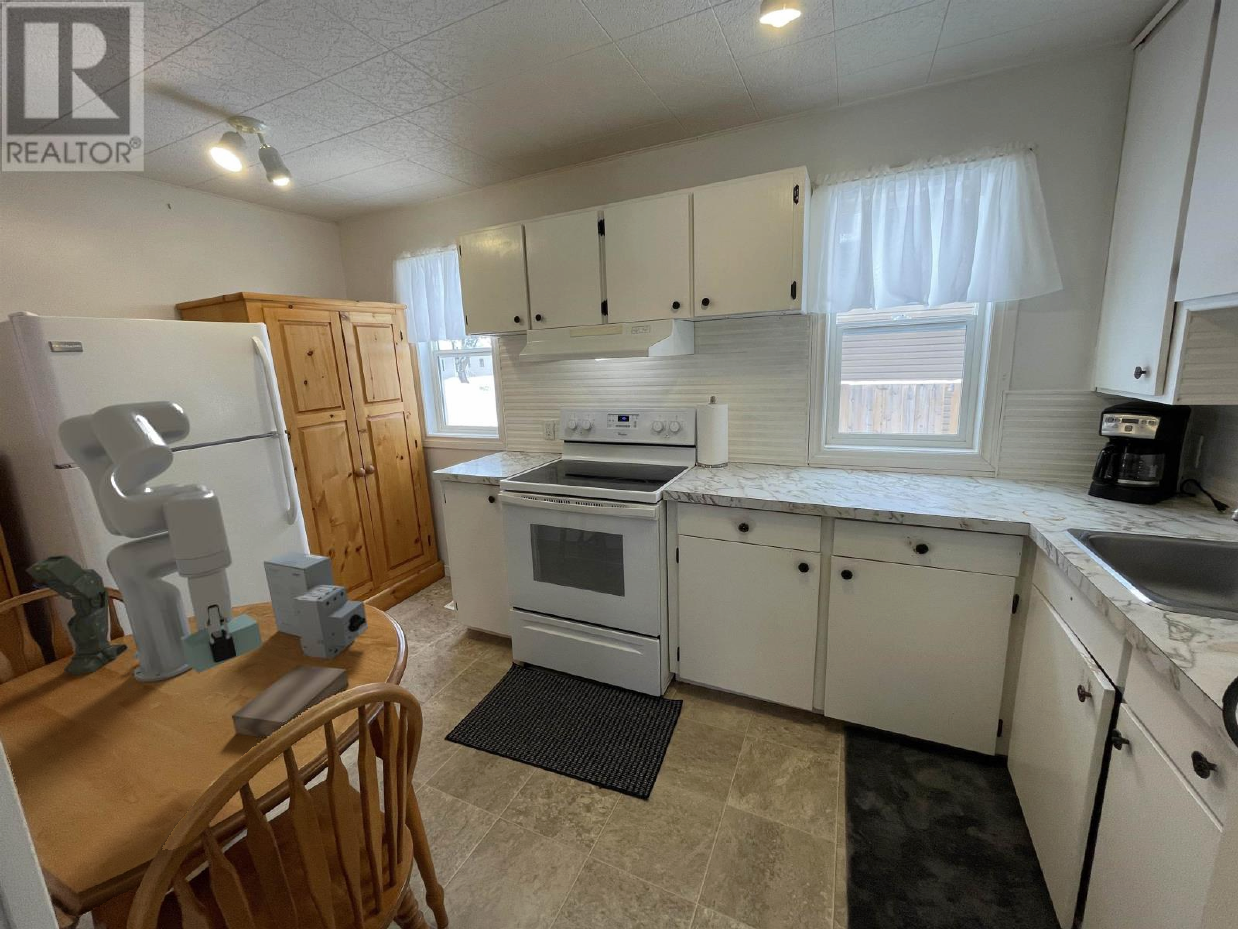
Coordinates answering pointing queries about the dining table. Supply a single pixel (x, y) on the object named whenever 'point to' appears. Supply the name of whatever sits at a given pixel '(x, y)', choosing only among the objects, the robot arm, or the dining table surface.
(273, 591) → the grey switch module
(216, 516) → the robot arm
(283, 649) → the dining table surface
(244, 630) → the light teal rectangular block
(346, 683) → the stand
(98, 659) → the mechanical leg
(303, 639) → the circuit breaker
